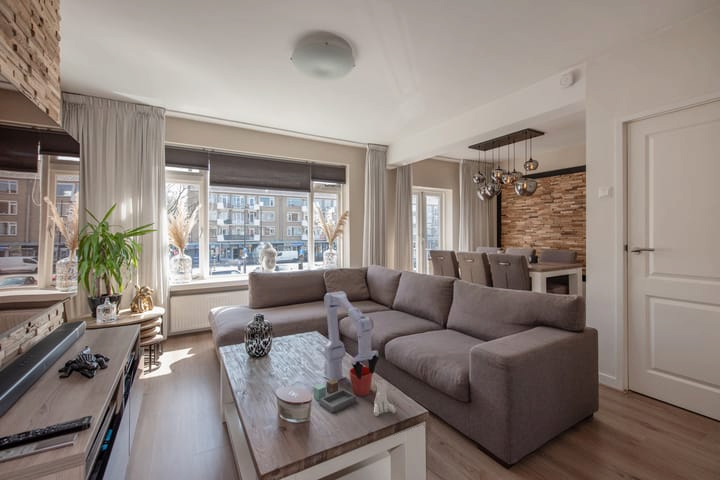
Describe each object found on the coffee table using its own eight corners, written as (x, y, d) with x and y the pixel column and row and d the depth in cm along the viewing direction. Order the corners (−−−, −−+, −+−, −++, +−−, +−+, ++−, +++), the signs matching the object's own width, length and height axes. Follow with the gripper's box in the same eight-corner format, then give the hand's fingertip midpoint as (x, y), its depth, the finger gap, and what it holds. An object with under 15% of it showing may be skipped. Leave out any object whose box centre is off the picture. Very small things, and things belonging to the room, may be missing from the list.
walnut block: (326, 392, 146) (326, 381, 146) (333, 389, 148) (333, 378, 148) (331, 395, 143) (331, 384, 143) (338, 392, 145) (338, 381, 145)
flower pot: (353, 399, 139) (352, 377, 139) (347, 387, 149) (347, 367, 149) (376, 395, 142) (375, 373, 141) (368, 384, 152) (368, 364, 152)
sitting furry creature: (374, 417, 125) (373, 387, 124) (367, 406, 133) (367, 378, 133) (396, 413, 127) (395, 383, 127) (388, 402, 135) (388, 374, 135)
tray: (319, 404, 135) (319, 398, 135) (343, 394, 143) (343, 388, 143) (332, 413, 128) (332, 407, 128) (356, 401, 137) (356, 395, 137)
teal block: (313, 397, 141) (313, 386, 141) (321, 394, 144) (320, 383, 144) (318, 400, 138) (318, 389, 138) (326, 397, 141) (326, 386, 141)
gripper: (358, 351, 131) (359, 384, 132) (382, 343, 141) (383, 373, 141) (347, 347, 137) (348, 378, 137) (371, 339, 146) (372, 368, 147)
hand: (365, 375), depth 140 cm, fingers open, 7 cm apart
